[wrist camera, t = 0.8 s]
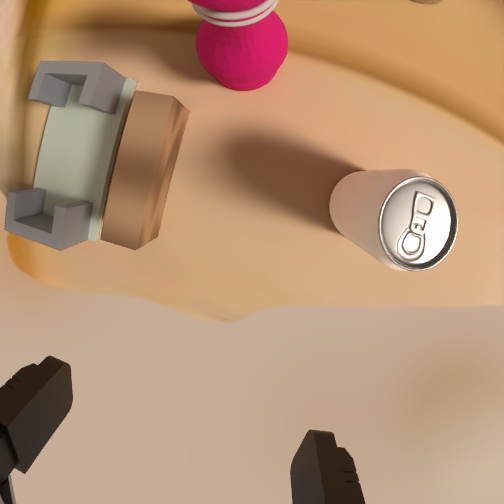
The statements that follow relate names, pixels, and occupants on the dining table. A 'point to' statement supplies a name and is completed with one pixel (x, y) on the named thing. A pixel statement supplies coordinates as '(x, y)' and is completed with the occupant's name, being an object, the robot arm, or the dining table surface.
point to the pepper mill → (240, 41)
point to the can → (396, 217)
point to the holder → (72, 153)
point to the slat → (144, 169)
